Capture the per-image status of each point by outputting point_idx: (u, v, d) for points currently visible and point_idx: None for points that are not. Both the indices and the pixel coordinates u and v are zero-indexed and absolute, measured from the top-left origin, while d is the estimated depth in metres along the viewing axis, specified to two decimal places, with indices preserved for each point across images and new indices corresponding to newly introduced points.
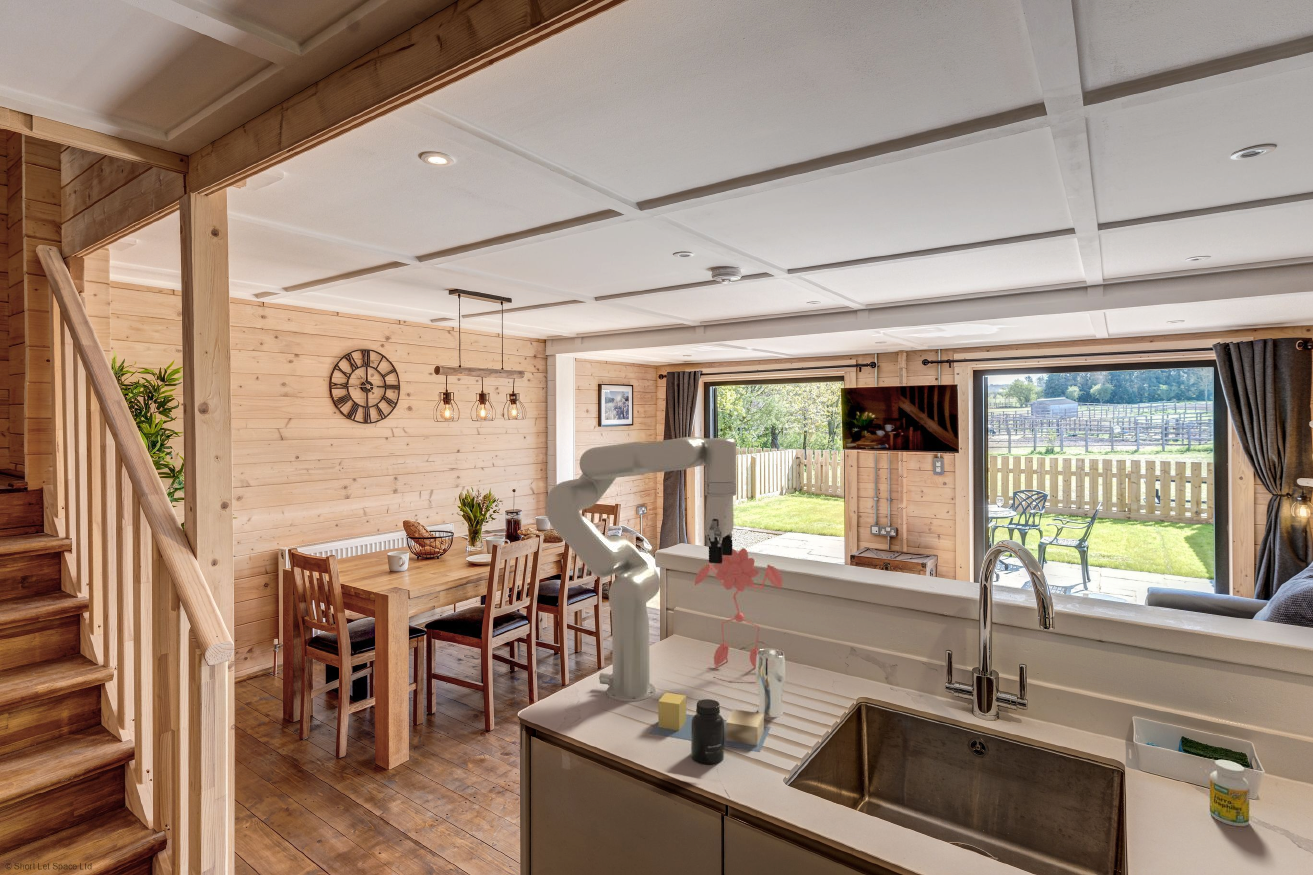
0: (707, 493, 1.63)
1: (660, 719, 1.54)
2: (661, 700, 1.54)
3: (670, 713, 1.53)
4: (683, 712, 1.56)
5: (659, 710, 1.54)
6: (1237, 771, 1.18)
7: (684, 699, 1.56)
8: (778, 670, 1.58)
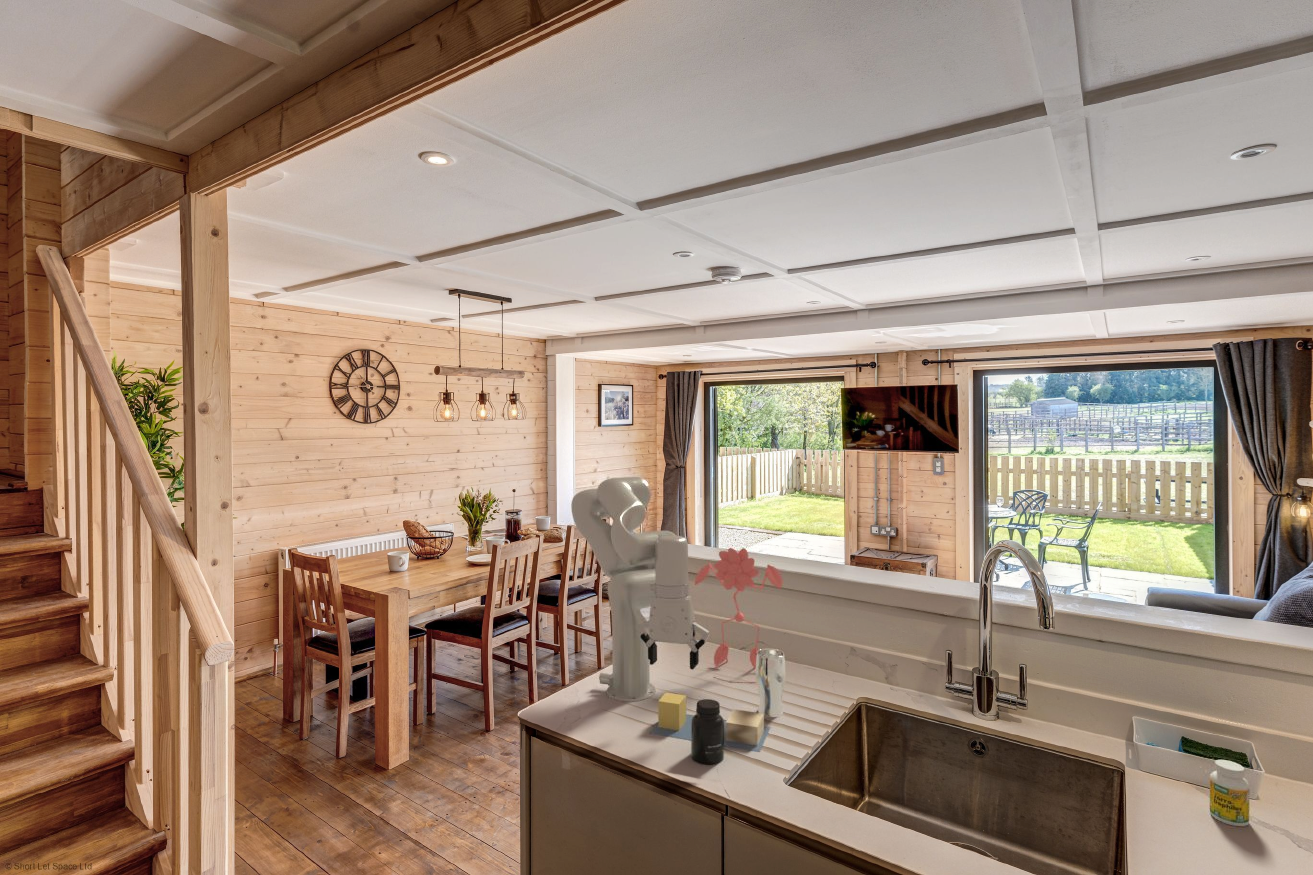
0: (679, 598, 1.51)
1: (660, 719, 1.54)
2: (661, 700, 1.54)
3: (670, 713, 1.53)
4: (683, 712, 1.56)
5: (659, 710, 1.54)
6: (1237, 770, 1.18)
7: (684, 699, 1.56)
8: (778, 670, 1.58)
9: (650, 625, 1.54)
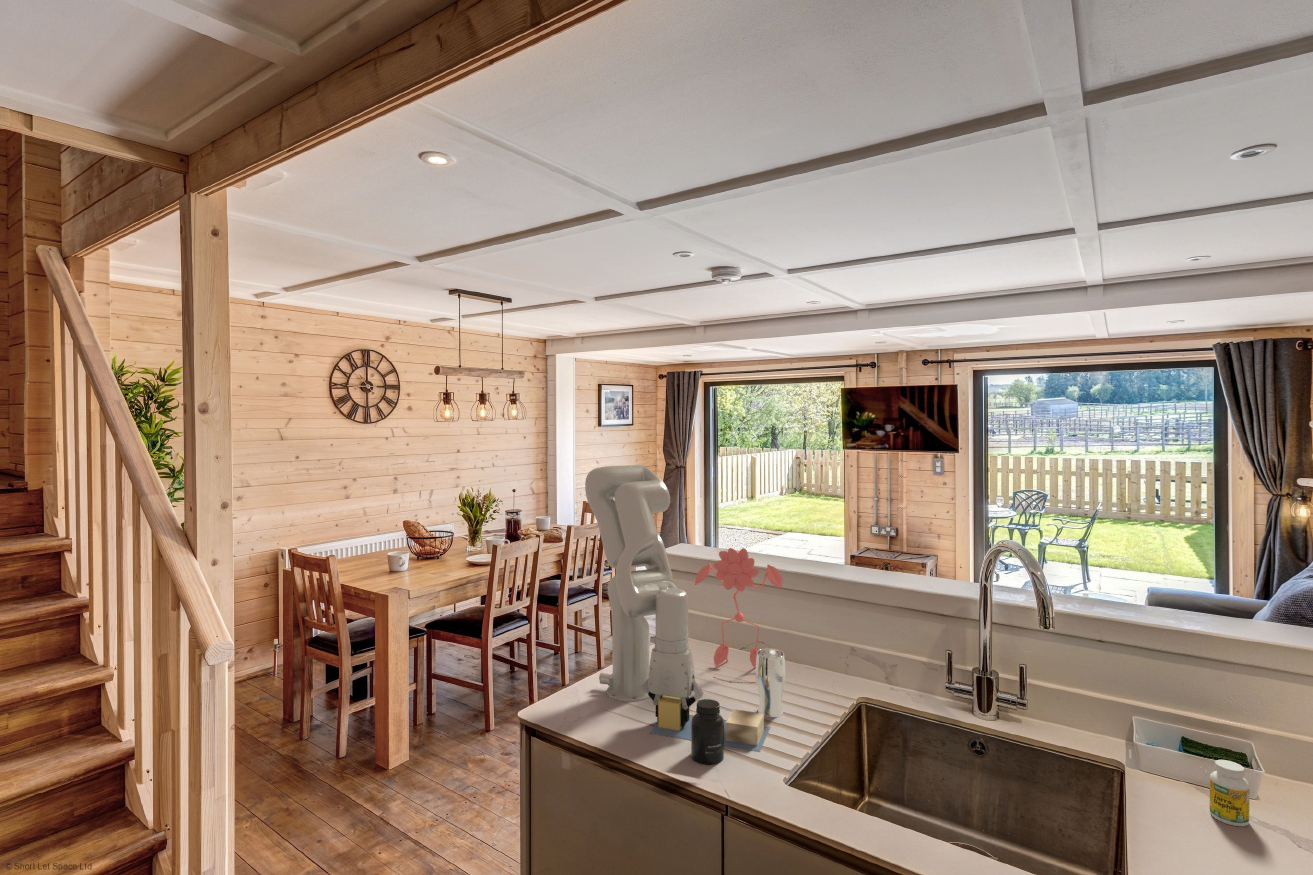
0: (679, 652, 1.52)
1: (660, 719, 1.54)
2: (661, 700, 1.54)
3: (670, 713, 1.53)
4: None
5: (659, 710, 1.54)
6: (1237, 771, 1.18)
7: None
8: (778, 670, 1.58)
9: (650, 678, 1.54)
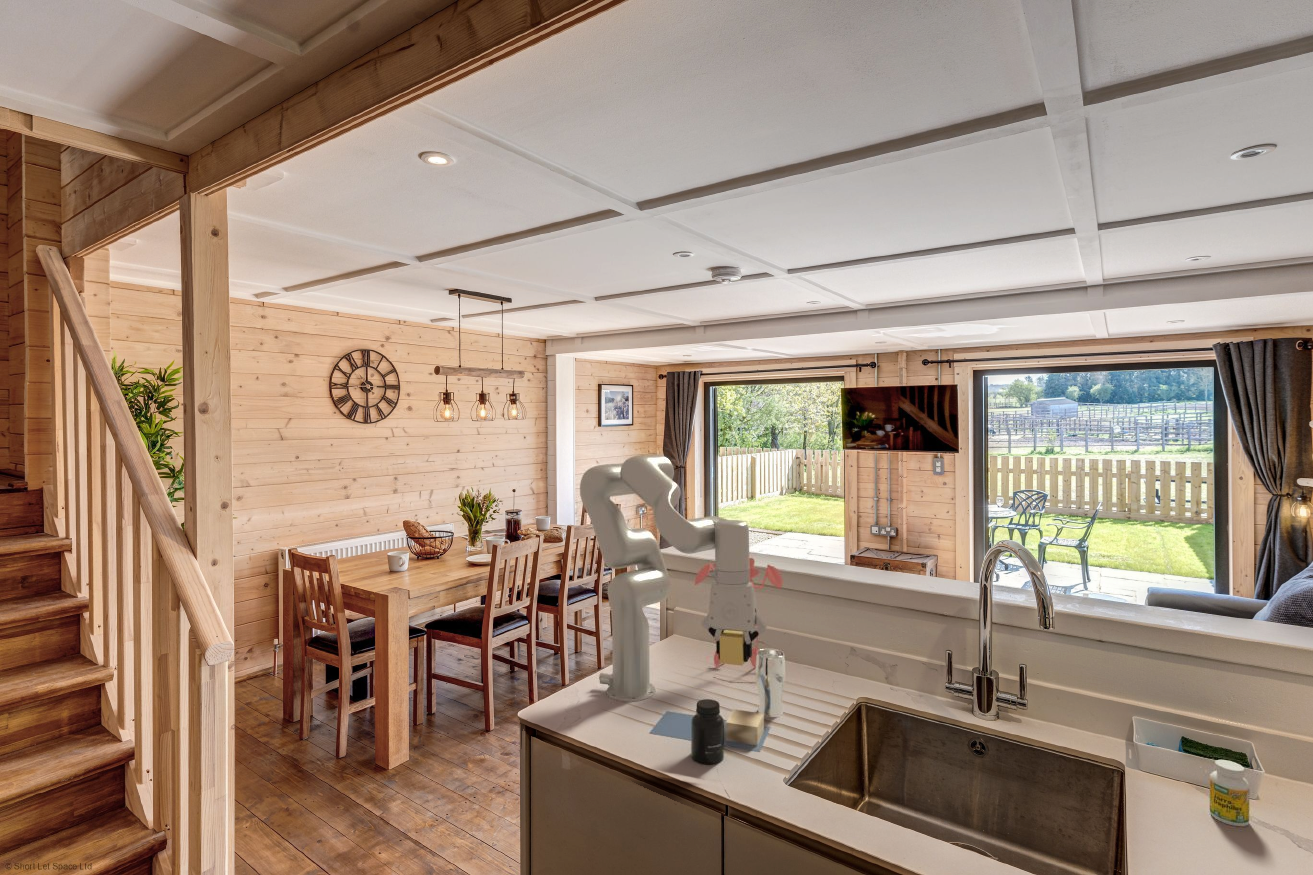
0: (741, 584, 1.46)
1: (722, 655, 1.48)
2: (722, 635, 1.49)
3: (732, 648, 1.47)
4: None
5: (720, 645, 1.48)
6: (1237, 771, 1.18)
7: None
8: (778, 670, 1.58)
9: (710, 612, 1.49)
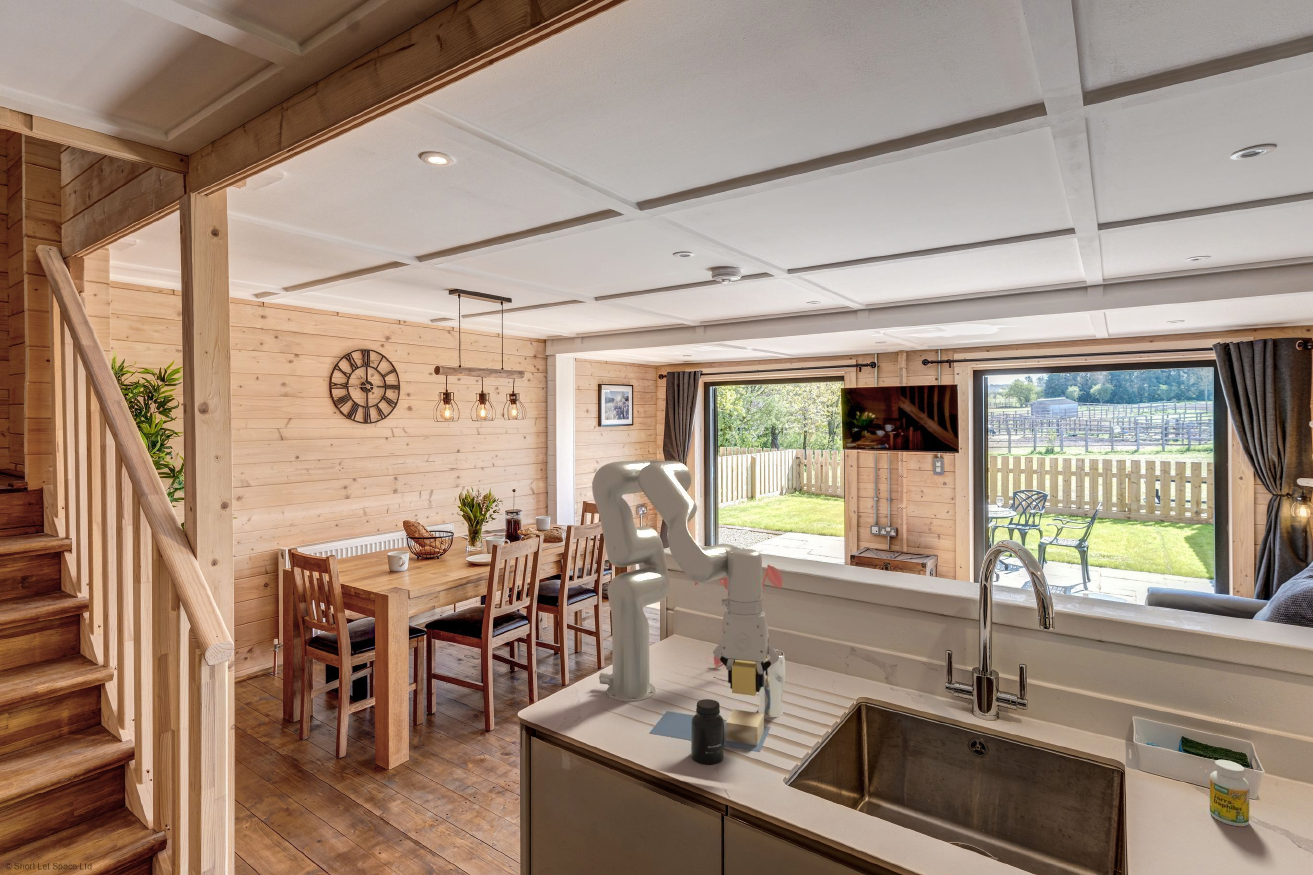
0: (754, 614, 1.45)
1: (734, 685, 1.48)
2: (734, 665, 1.48)
3: (745, 678, 1.47)
4: None
5: (733, 675, 1.48)
6: (1237, 771, 1.18)
7: None
8: (778, 670, 1.58)
9: (722, 642, 1.48)
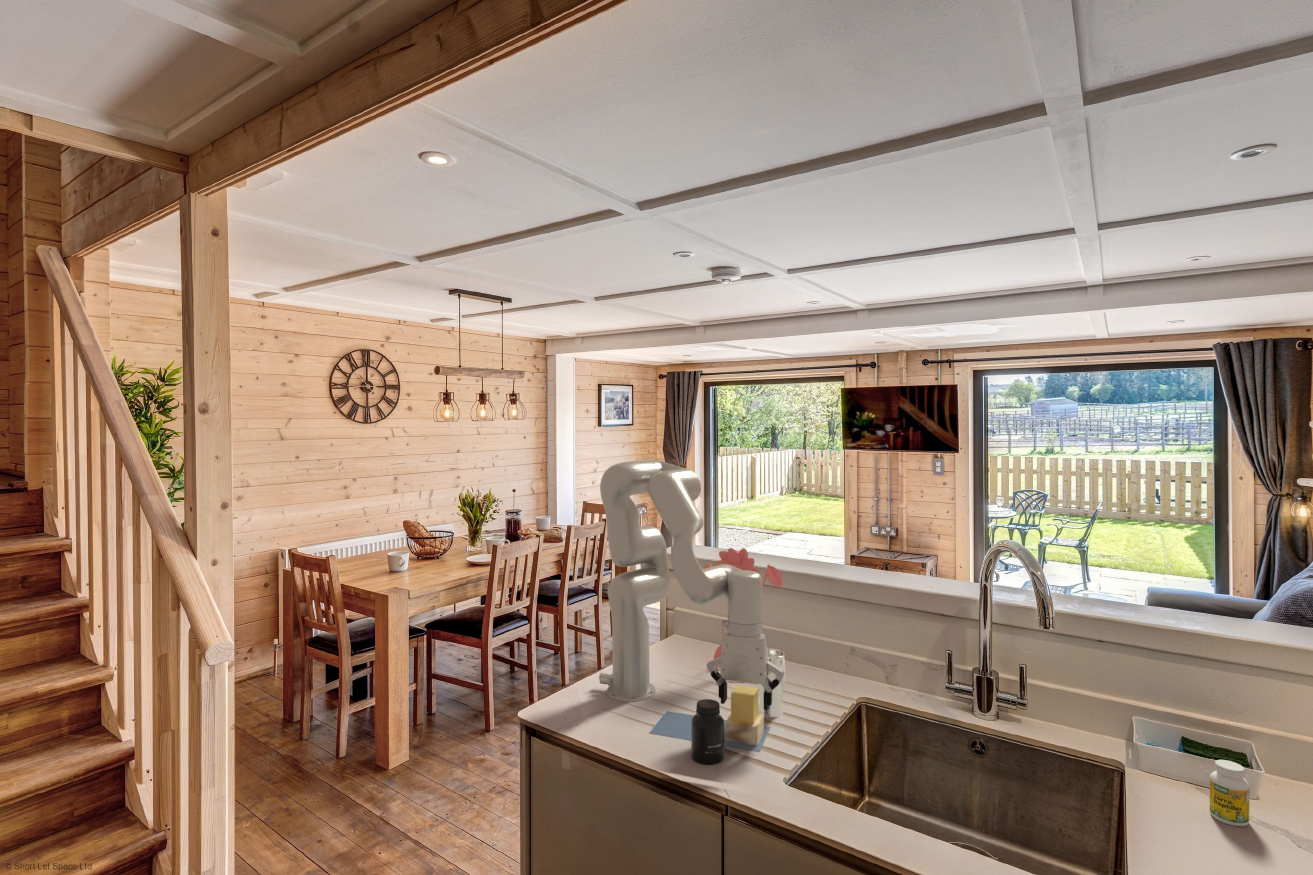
0: (754, 636, 1.46)
1: (733, 713, 1.48)
2: (734, 693, 1.48)
3: (744, 706, 1.47)
4: (756, 705, 1.50)
5: (732, 703, 1.48)
6: (1237, 771, 1.18)
7: (757, 692, 1.50)
8: None
9: (722, 663, 1.48)
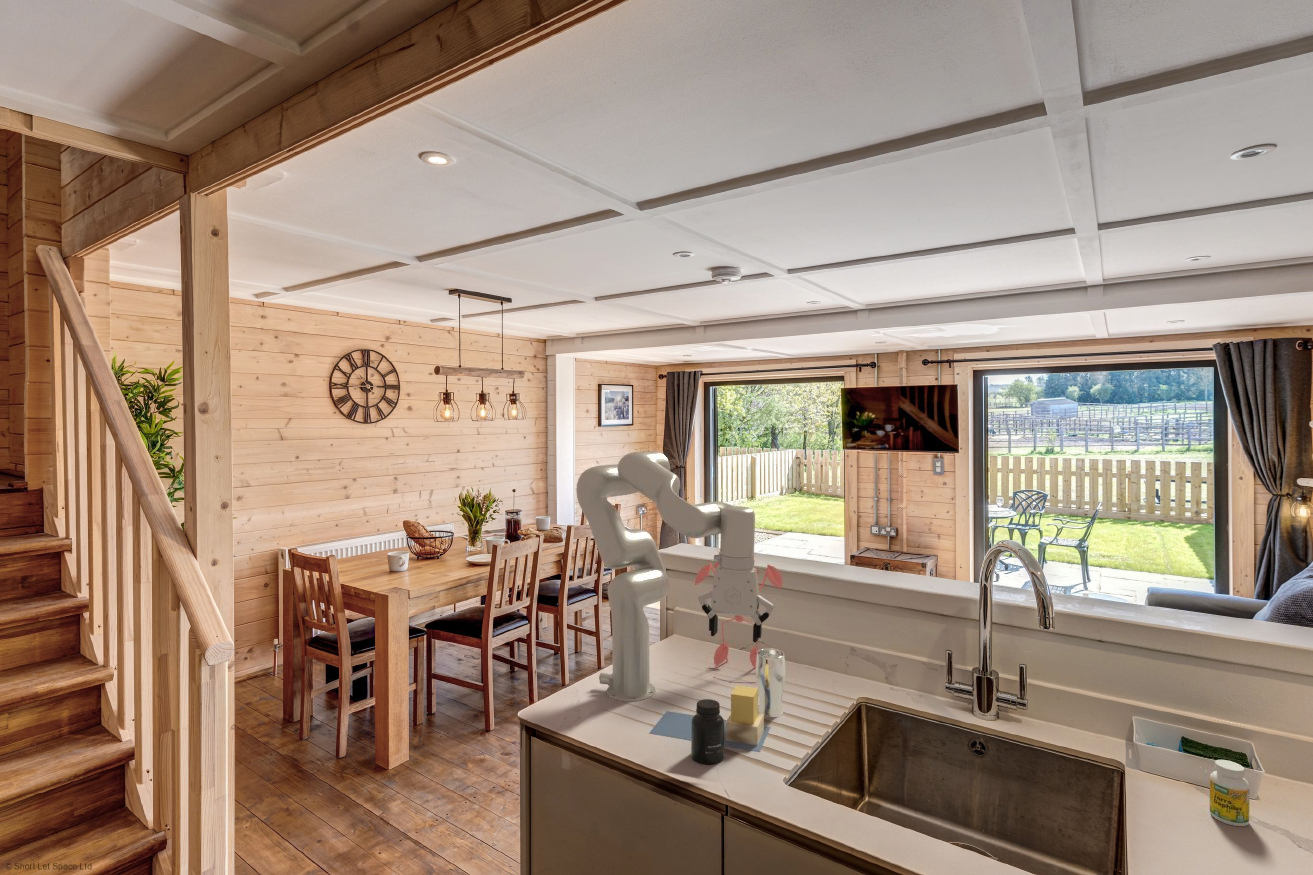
0: (745, 570, 1.48)
1: (733, 713, 1.48)
2: (734, 693, 1.48)
3: (744, 706, 1.47)
4: (756, 705, 1.50)
5: (732, 703, 1.48)
6: (1237, 770, 1.18)
7: (757, 692, 1.50)
8: (778, 670, 1.58)
9: (713, 596, 1.51)
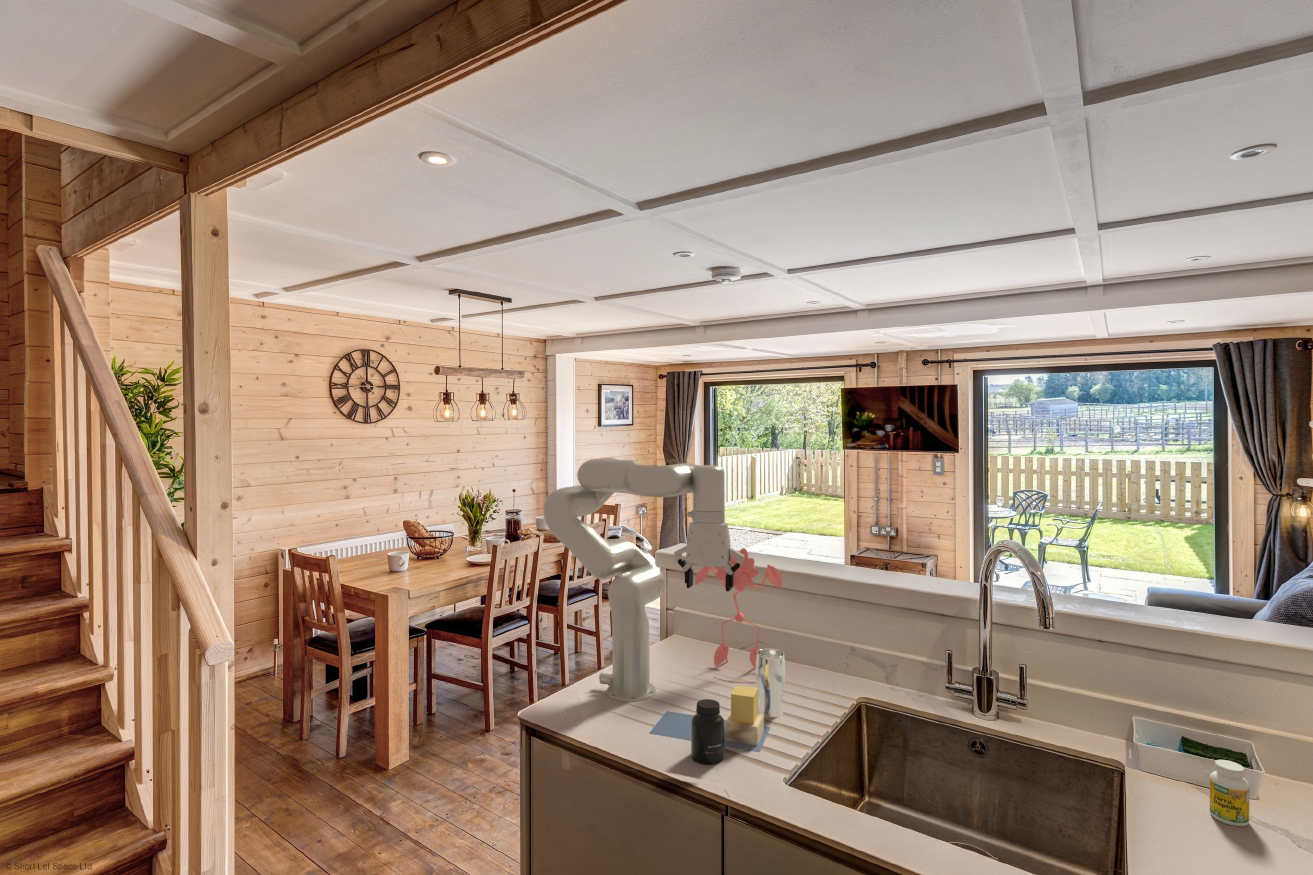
0: (716, 523, 1.58)
1: (733, 713, 1.48)
2: (734, 693, 1.48)
3: (744, 706, 1.47)
4: (756, 705, 1.50)
5: (732, 703, 1.48)
6: (1237, 770, 1.18)
7: (757, 692, 1.50)
8: (778, 670, 1.58)
9: (688, 550, 1.61)
